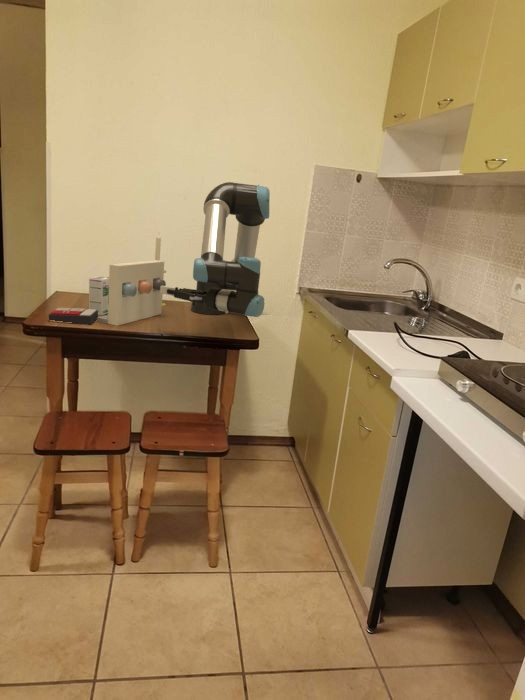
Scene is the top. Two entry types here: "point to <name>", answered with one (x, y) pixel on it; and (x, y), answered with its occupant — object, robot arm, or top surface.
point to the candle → (158, 253)
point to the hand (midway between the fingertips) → (161, 289)
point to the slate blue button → (129, 289)
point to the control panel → (142, 303)
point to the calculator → (74, 315)
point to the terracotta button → (144, 287)
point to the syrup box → (99, 294)
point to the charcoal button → (158, 284)
